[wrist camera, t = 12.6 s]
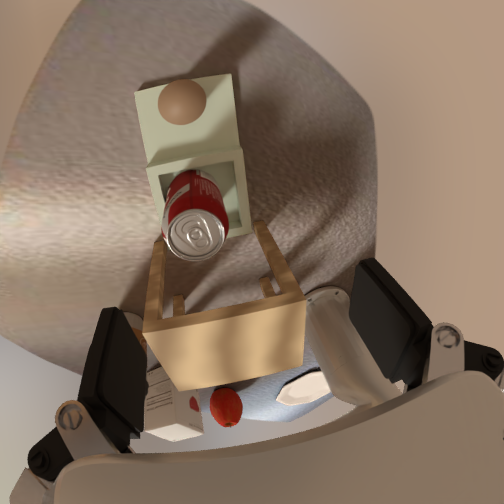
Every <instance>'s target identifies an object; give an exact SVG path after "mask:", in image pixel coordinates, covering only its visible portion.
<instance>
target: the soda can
mask: <svg viewBox="0 0 504 504" xmlns="http://www.w3.org/2000/svg"><path fill="white" fill-rule="evenodd" d="M161 230H162V235H163V238H164V240H165V242H166V243H167V244H168V246H169V248H170V249H171V251H172V252H173V253H174V254H175V255H176V256H178V257H179V258H181V259H184V260H187V261H203V260H206V259H209V258H211V257H212V256H214V255H215V254H216V253H217V252H218V251H219V250H220V249H221V247H222V245H223V243H224V241H225V239H226V237H227V235H228V231H229V220H228V216H227V213H226V209H225V206H224V203H223V199H222V196H221V192H220V189H219V185H218V183H217V181H216V180H215V179H214V177H213V176H211V175H210V174H209V173H207V172H205V171H202V170H187V171H184V172H182V173H180V174H179V175H177V176H176V177H175V178H174V179H173V180H172V182H171V183H170V186H169V188H168V193H167V197H166V202H165V207H164V212H163V218H162V224H161Z"/></svg>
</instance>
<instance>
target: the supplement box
mask: <svg viewBox="0 0 504 504" xmlns="http://www.w3.org/2000/svg"><path fill="white" fill-rule="evenodd" d="M147 382H148V384H149V388H148V394H147V396H146V398H145V408H144V414H145V431H146V432H148V433H151V434H153V435H156V436H158V437H160V438H164V439H167V440H170V441H173V442H175V441H179V440H183V439H187V438H191V437H196V436H199V435H202V434H204V430H203V423H202V416H201V408H200V401H199V392H198V389H192V390H185V391H178V389H177V388H176V386H175V385H174V383H173V382H172V380H171V379H170V377H169V376H168V374H167V373H166V371H165V370H164V368H163V367H159V368H157V369H155V370H153V371H150V372H148V373H147Z"/></svg>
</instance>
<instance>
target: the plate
mask: <svg viewBox="0 0 504 504" xmlns="http://www.w3.org/2000/svg"><path fill="white" fill-rule="evenodd" d="M329 392H331V391H330V389H329V387H328V384H327V382H326V380H325V378H324V375H323V373H322V371H321V370H319V371H313V372H309V373H307V374H305V375H303V376H301V377H299V378H297V379H296V380H294V381H292V382H290V383H288V384H286V385H284V386H283V387H282V389H281V391H280V393H279V394H278V396H277V398H276V401H278V402H281V403H283V404H285V405H287V406H292V405H298V404H303V403H309V402H312V401H314V400H316V399H318V398H320V397H322V396H324V395H326V394H328V393H329Z"/></svg>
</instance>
